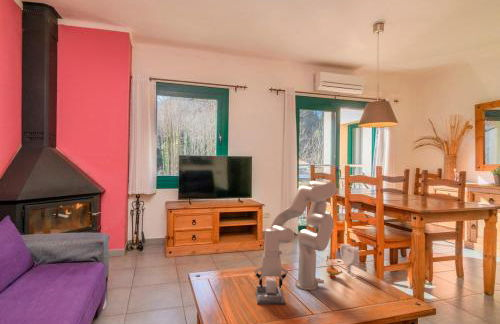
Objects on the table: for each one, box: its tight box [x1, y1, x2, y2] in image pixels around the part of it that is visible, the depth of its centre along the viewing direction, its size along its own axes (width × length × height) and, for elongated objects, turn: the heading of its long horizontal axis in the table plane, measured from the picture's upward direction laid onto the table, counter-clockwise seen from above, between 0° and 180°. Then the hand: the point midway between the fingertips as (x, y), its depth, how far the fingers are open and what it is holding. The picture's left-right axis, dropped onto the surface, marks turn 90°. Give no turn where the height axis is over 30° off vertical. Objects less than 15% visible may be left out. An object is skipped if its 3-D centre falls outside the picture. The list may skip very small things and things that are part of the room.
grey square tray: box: [255, 284, 287, 306], centre depth 148 cm, size 14×14×4 cm
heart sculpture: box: [339, 243, 360, 277], centre depth 182 cm, size 16×5×18 cm, turn 14°
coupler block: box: [264, 276, 278, 295], centre depth 148 cm, size 5×7×8 cm
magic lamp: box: [325, 255, 344, 279], centre depth 175 cm, size 7×18×11 cm, turn 15°
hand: (270, 286), depth 148 cm, fingers open, 9 cm apart
